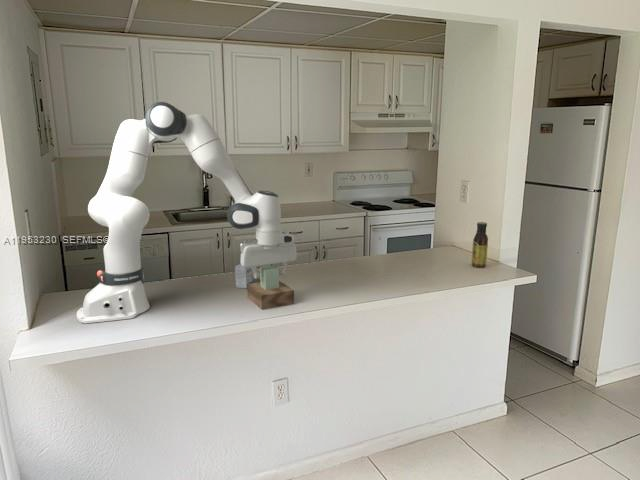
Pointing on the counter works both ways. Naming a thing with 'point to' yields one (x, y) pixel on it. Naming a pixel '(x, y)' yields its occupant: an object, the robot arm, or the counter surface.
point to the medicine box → (243, 276)
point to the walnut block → (270, 295)
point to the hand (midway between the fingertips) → (269, 276)
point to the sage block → (269, 277)
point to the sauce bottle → (480, 246)
